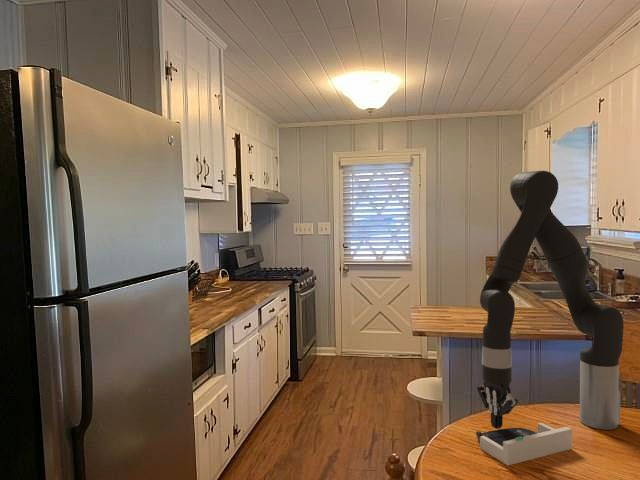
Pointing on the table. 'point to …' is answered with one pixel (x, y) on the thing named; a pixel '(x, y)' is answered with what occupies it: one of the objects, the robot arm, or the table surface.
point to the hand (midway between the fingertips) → (496, 427)
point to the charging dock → (529, 445)
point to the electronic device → (505, 434)
